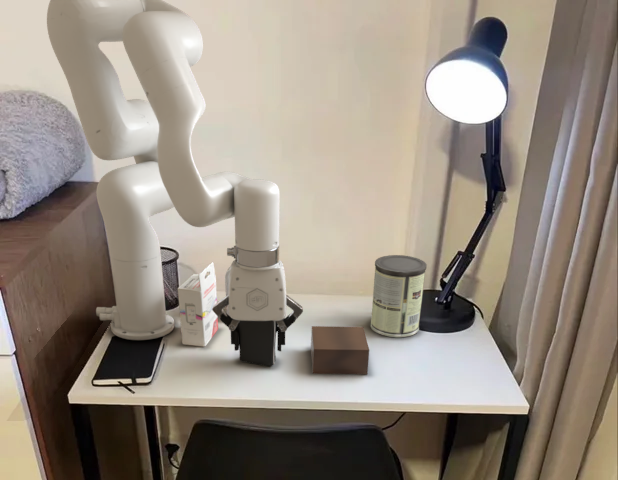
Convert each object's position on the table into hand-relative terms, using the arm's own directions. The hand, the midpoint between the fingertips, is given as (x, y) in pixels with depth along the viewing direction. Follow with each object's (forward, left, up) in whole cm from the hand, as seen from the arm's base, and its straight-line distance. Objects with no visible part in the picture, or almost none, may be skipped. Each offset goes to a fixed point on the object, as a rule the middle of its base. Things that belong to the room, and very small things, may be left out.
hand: (258, 347), depth 123 cm
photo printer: (-4, +22, -3) cm, 23 cm away
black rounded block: (0, 0, -3) cm, 3 cm away
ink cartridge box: (-12, +10, -3) cm, 16 cm away
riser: (+15, 0, -3) cm, 15 cm away
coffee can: (+28, +16, -3) cm, 32 cm away
